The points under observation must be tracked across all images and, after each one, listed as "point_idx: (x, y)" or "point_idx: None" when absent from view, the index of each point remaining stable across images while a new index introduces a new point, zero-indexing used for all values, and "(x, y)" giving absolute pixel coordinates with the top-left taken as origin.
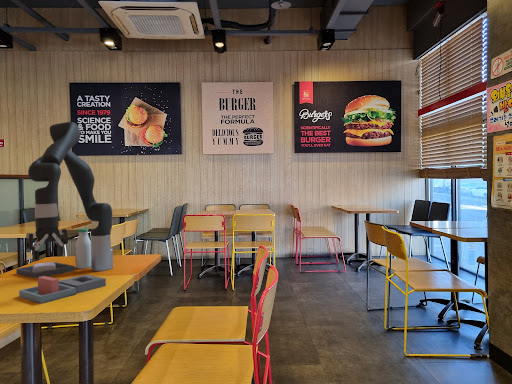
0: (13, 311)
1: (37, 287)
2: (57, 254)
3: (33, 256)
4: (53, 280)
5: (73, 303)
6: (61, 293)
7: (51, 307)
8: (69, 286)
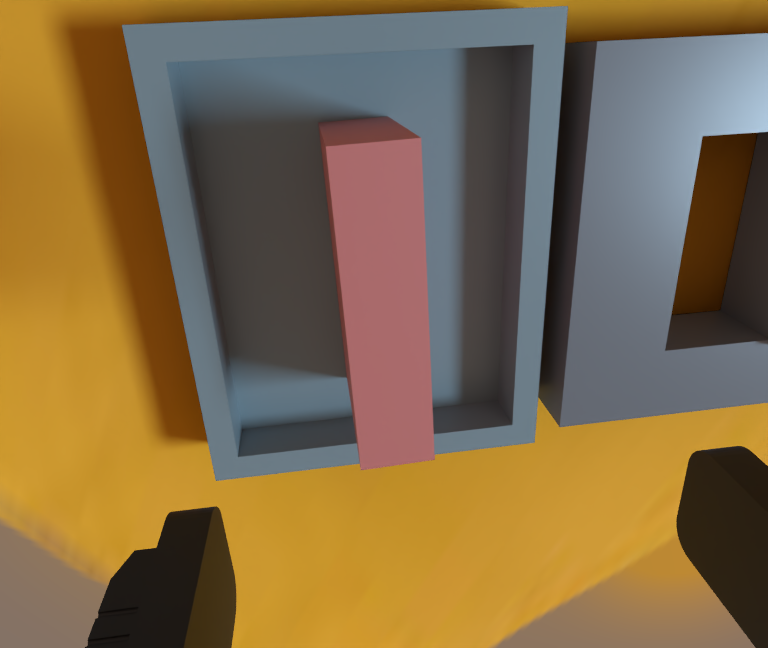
0: (11, 471)
1: (340, 53)
2: (712, 475)
3: (119, 630)
4: (377, 466)
5: (378, 583)
6: None
7: (246, 565)
8: (533, 353)
